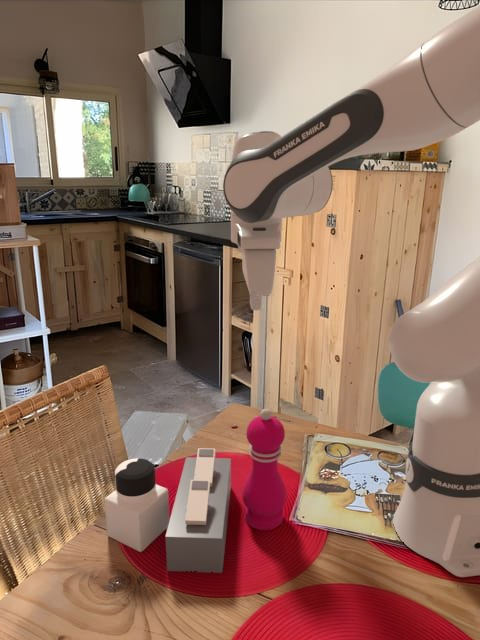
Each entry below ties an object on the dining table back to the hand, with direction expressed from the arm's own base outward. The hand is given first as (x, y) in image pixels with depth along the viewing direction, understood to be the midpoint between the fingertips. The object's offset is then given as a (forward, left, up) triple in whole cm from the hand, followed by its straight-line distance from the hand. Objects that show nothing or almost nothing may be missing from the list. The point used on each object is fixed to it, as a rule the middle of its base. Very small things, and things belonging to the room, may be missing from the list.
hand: (255, 308), depth 91 cm
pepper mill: (-2, +18, -31) cm, 36 cm away
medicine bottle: (+18, +22, -31) cm, 42 cm away
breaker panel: (+8, +20, -31) cm, 38 cm away
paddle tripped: (+8, +16, -23) cm, 29 cm away
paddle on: (+8, +25, -23) cm, 35 cm away
